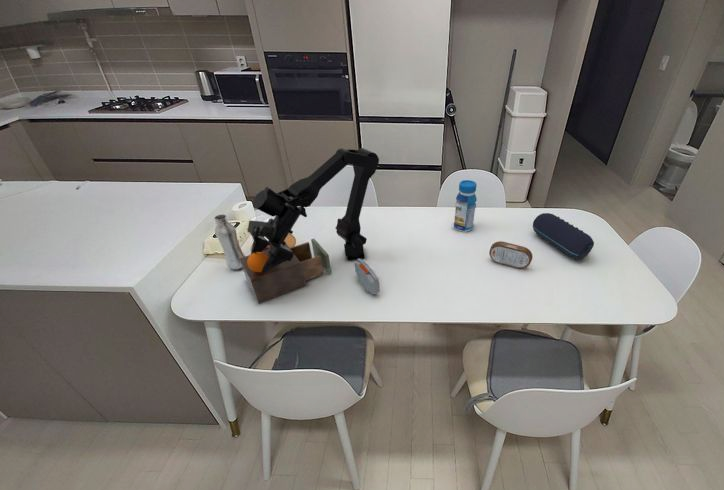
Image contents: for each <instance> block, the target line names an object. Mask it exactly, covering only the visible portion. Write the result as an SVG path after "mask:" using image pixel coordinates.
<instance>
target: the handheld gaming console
mask: <svg viewBox="0 0 724 490" xmlns="http://www.w3.org/2000/svg"><path fill="white" fill-rule="evenodd" d="M353 264H354V269H355V270H354V271H355V274H356V275H357V278H358V281H359V283H360V285H361V286H362V287H363V288H364V290H366V291H367V293H370V294H371V295H377V294H379V293H380V291H381V290H380V281H379V277H378V276H377V274H376V273H375V271H374V270H373V269H372V268H371V266H370V265H369V264H368V263H367V262H366V261H365V260H364V259H360V258H359V259H357V260H355V261H354V262H353Z"/></svg>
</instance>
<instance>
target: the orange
mask: <svg viewBox="0 0 724 490" xmlns="http://www.w3.org/2000/svg"><path fill="white" fill-rule="evenodd" d="M249 255H250V256H249ZM249 255H248V256H249V257H248V260H247V264H248V267H249V268H250V269H251V270H252V271H254V272H259V273H260V272H262V269H263V267H264V265H265V263H266V261H267V259H268V257H267V255H266V254H264V253H262V252H255V253H252V254H251V253H250V254H249Z"/></svg>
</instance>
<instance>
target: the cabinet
mask: <svg viewBox="0 0 724 490" xmlns="http://www.w3.org/2000/svg"><path fill="white" fill-rule="evenodd" d="M283 246H284V245H283ZM285 246H286V247H288V248H289V249H290V248H291V247H289V245H288V243H286V244H285ZM268 250H269V251H270V249H268ZM290 250H291V249H290ZM262 253H264V254H266V255H267V257H269V255H268V251H267V250H265V251H262ZM293 254H294V253H293ZM250 255H251V254H249V255H246V256H245V257H243V258H239V259H240V262H241V265H242V268H241V269H242V270H243V273H244V276H245V279H246V282H247V284H248V286H249V287H250V289H251V292H252V293H253V296H254V298H255V299H256V302H257V304H262V303H265V302H267V301H269V300H272V299H276V298H278V297H281V296H282V295H285V294H288V293H291V292H295V291H296V290H299V289H302V288H304V287H306V286H307V285H306V280H305V279H304V275H303V271H302V266H301V263H300V261H299V260H298V259H297V257H296V256H295V255H294V257H293V258H292V260H291V261H287V262H286V261H285V262H283V263H281V264H279V265H277V266H275V267H274V268H272V269H271V270H269V271H267V272H266V273H263V272H260V273H259V272H254V271H252V270H251V269H250V268H249V267H248V264H247V260H248V257H249V256H250Z"/></svg>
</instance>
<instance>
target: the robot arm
mask: <svg viewBox="0 0 724 490" xmlns="http://www.w3.org/2000/svg"><path fill="white" fill-rule="evenodd" d="M379 163H380V158H379V156H378V154H377V153H375V152H373V151H371V150H368V149H367V148H364V147H360V148H358V149H353V148H349V149H348V148H347V149H346V148H342V147H341V148H338V149H337V150H336V152H335V154H333V155H332V156H331V157H329V159H327V160H326V161H325V162H324V163H322V165H320V166H319V167H318V168H317V169H316V170H315V171H314V172H312V173H311V174H310V175H309V176H307V177H304V178H301V179H298V180H297V181H295V182H294V183H292V184H291V185H290V186H289V187H288V188H286V189H283V190H280V191H278V192H276V191H274V190H273V189H271V188H270V187H268V186H266V187H265V188H264V189H263V190H260V191H259V192H258V193H256V195H255V196H254V199H253V203H252V204H253V205H252V206H253V208H254V209H256V210H257V211H260V212H262V213H264V214H266V215H268V216H270V217H274V218H270V219H269V221H268V222H262V221H250V220H249V221H248V225H247V230H246V231H247V233H249V234H250V235H251V237H252V239H253V240H252V246H251V247H252V248H251V250H250V251H251V252H250V255H251V254H252V253H255V252H262V251H263V250H264V249H265V248H266V247H267V246H268V245H269V244H270V245H271V246H270V251H269V250H267V251H268V255H269V257H268V259H267V261H266V263H265V265H264V267H263V269H262V272H263V273H266V272H267V271H269V270H271V269H272V268H274V267H275V266H277V265H279V264H281V263H283V262H285V261H286V262H287V261H291V260H292V258H293V257H294V254H293V252H292V251H291V250H290V249H289V248H290V247H289V246H288V247H289V248H288V247H286V246H285V244H287V242H286V239H287V237H288V235H289V234H290V235H292V234H293V233H294V231H293V230H292V229H293V227H294V226H295V224H296V222H297V221H298V220H299V218H300V217H301V216H302V217H304V218H307V217H308V215H307V211H306V208H308V207H311V205H312V204H313V203H314V202H315V201H316V199H317V198H318V196H319V193H320V191H321V189H322V188H323V187H324V186H325V185H327V184H328V183H329V182H330V181H331V180H332V179H333V178H335V176H337V175H338V174H339V173H340V172H341V171H342V170H343V169H344V168H346V167H347V166H348V165H352V167H353V168H352V169H353V173H354V176H353V181H352V184H351V188H350V193H349V198H348V202H347V207H346V210H345V213H344V216H342V218H338V219H337V224H336V226H335V230H336V234H337V236H338V237H339V238H340V239H342V240H344V244H343V246H344V247H343V249H344V254H345V255H344V256H345V257H346V261H357V259H359V258H360V259H362V260H364V259H365V258H366V256H365V252H364V245H366V244H367V237H365V236H364V235H362V234H361V223H360V216H361V212H362V208H363V204H364V200H365V196H366V193H367V189H368V184H369V181H370V179H371V178H372V177H373V176H374V175H375V174H376V172H377V170H378V166H379ZM283 245H284V246H283Z"/></svg>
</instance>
